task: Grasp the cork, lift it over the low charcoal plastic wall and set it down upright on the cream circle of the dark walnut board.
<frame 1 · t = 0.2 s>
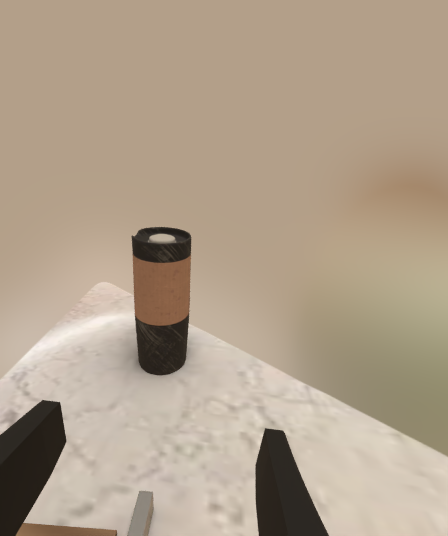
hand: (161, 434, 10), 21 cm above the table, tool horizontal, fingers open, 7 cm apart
travel mug: (162, 359, 45), on the table
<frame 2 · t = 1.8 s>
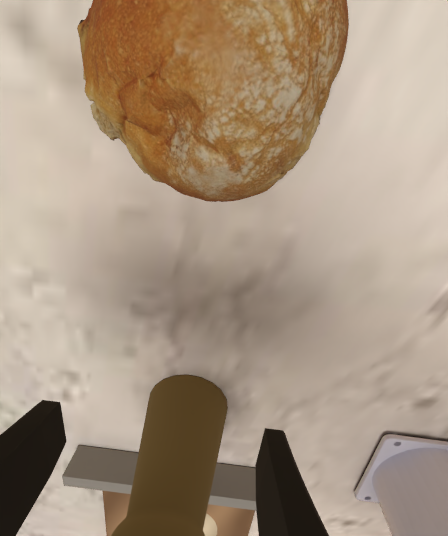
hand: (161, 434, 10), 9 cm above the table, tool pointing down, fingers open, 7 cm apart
cork: (188, 402, 22), on the table
low wall: (182, 463, 25), on the table
walnut board: (177, 520, 29), on the table
bread roll: (214, 87, 14), on the table
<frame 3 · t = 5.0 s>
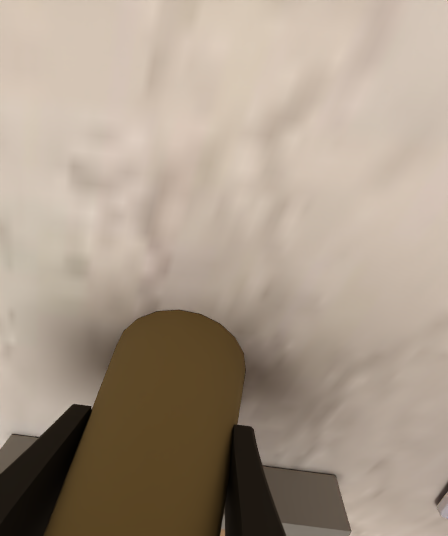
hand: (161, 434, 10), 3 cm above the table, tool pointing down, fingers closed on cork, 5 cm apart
cork: (180, 362, 13), on the table, touching gripper
low wall: (173, 461, 16), on the table
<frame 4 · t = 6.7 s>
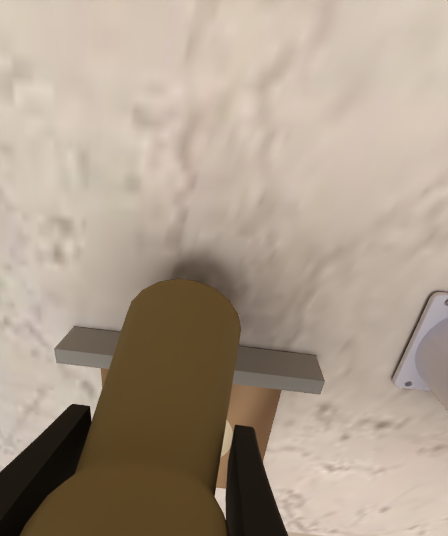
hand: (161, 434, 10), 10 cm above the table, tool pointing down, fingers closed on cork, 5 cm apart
cork: (184, 327, 15), point 5 cm above the table, touching gripper
low wall: (194, 347, 22), on the table
walnut board: (187, 429, 25), on the table
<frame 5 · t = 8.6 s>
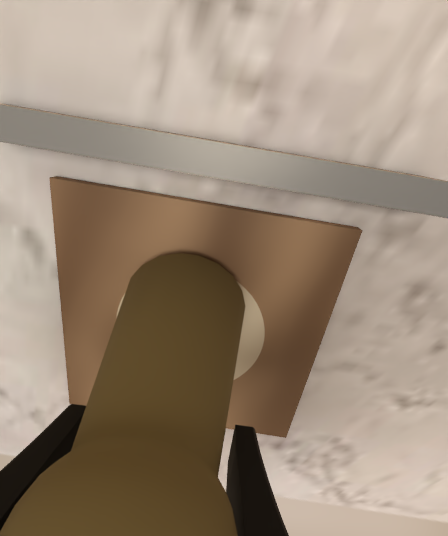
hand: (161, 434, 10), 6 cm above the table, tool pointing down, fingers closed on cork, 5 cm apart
cork: (185, 304, 15), point 1 cm above the table, touching gripper, walnut board
low wall: (214, 155, 12), on the table
walnut board: (191, 326, 16), on the table
when the fingers open (5 cm above the table, at t = 9.8 s): cork stays where it is, resting on walnut board.
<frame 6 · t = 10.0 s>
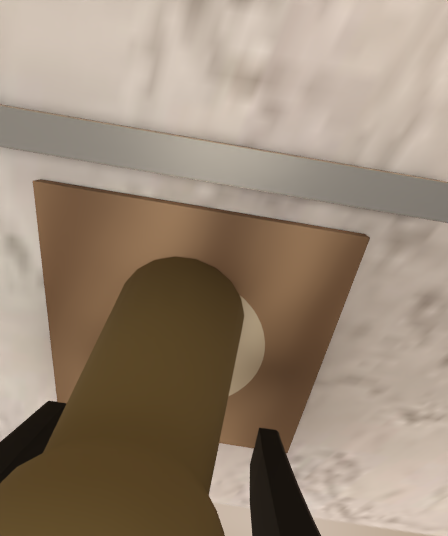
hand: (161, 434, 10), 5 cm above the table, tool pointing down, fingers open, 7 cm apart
cork: (181, 313, 14), resting on walnut board
low wall: (210, 157, 11), on the table
walnut board: (187, 338, 15), on the table
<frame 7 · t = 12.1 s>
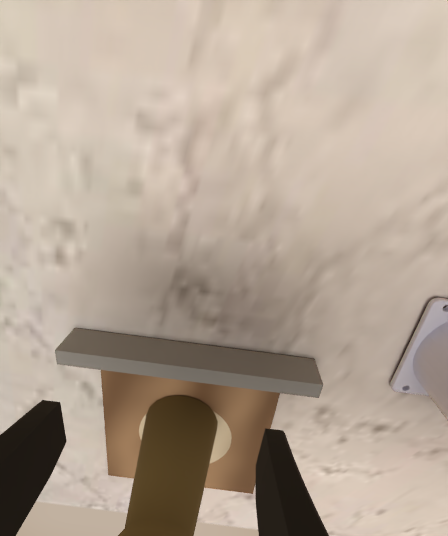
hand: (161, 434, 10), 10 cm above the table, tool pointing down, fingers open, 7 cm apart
cork: (182, 419, 24), resting on walnut board
low wall: (194, 349, 22), on the table
walnut board: (186, 430, 25), on the table
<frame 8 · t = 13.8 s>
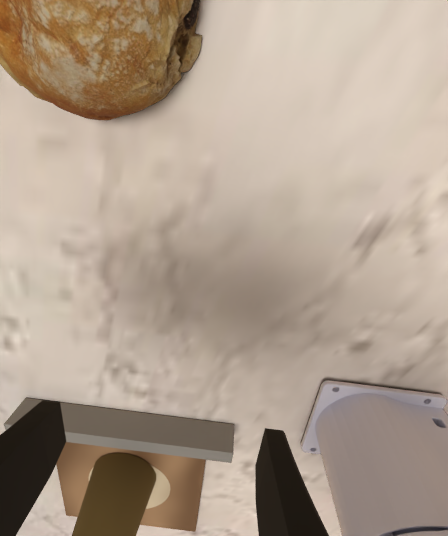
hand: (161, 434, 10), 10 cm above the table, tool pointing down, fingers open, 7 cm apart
cork: (125, 471, 28), resting on walnut board
low wall: (130, 415, 25), on the table
walnut board: (131, 479, 29), on the table
bread roll: (99, 7, 14), on the table
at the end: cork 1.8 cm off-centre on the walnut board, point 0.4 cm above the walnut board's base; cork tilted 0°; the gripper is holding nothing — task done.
